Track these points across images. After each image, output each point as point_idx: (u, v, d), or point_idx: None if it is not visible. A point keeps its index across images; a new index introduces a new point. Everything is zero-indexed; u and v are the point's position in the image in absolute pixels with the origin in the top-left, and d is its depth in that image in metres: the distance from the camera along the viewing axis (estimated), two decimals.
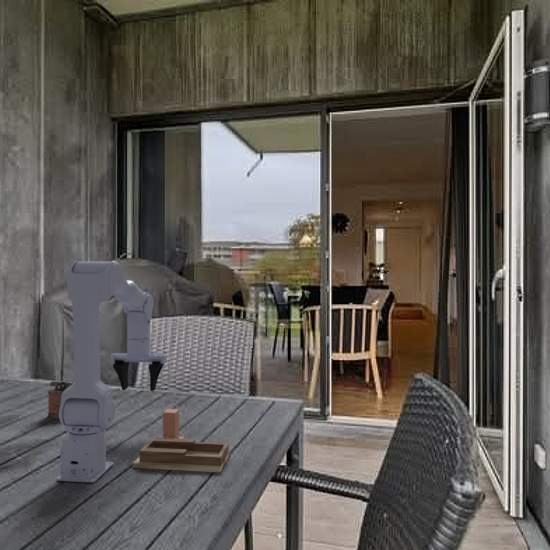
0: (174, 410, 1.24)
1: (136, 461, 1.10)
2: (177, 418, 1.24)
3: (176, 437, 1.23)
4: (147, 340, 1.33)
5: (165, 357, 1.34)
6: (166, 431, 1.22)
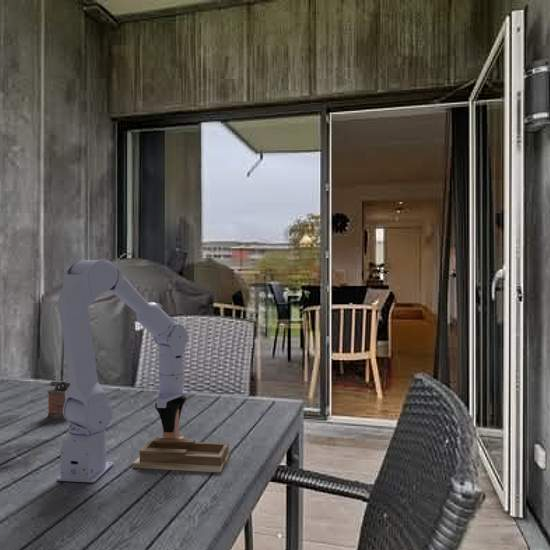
0: None
1: (136, 461, 1.10)
2: (177, 418, 1.24)
3: (176, 437, 1.23)
4: (163, 377, 1.21)
5: (160, 401, 1.16)
6: None
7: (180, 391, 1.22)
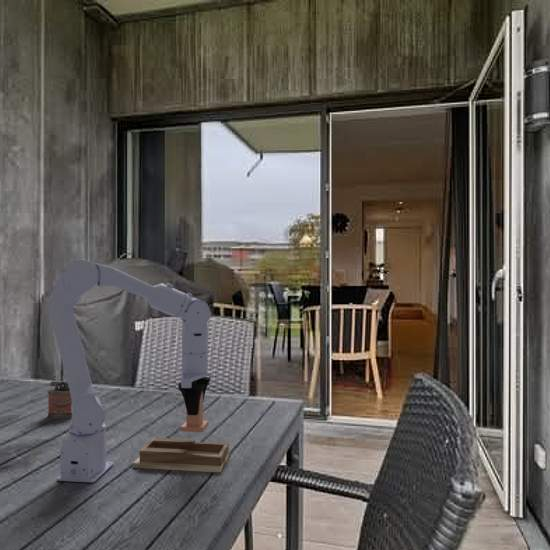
0: None
1: (136, 461, 1.10)
2: (201, 401, 1.16)
3: (200, 421, 1.15)
4: (187, 356, 1.13)
5: (185, 381, 1.08)
6: None
7: (205, 371, 1.14)
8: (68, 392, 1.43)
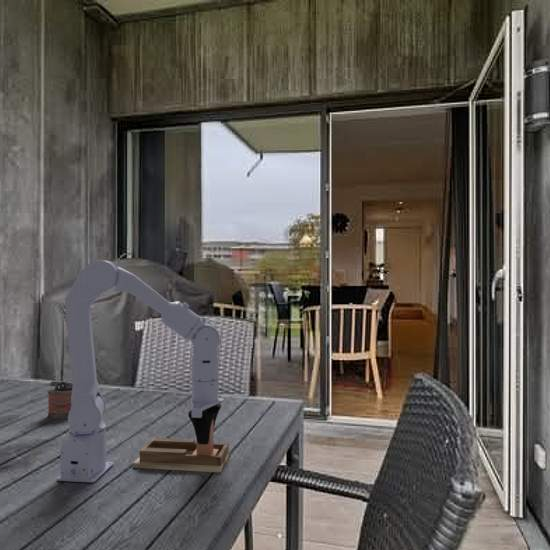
0: None
1: (136, 461, 1.10)
2: (212, 429, 1.12)
3: (211, 450, 1.12)
4: (198, 383, 1.09)
5: (195, 410, 1.05)
6: None
7: (216, 399, 1.11)
8: (68, 392, 1.43)
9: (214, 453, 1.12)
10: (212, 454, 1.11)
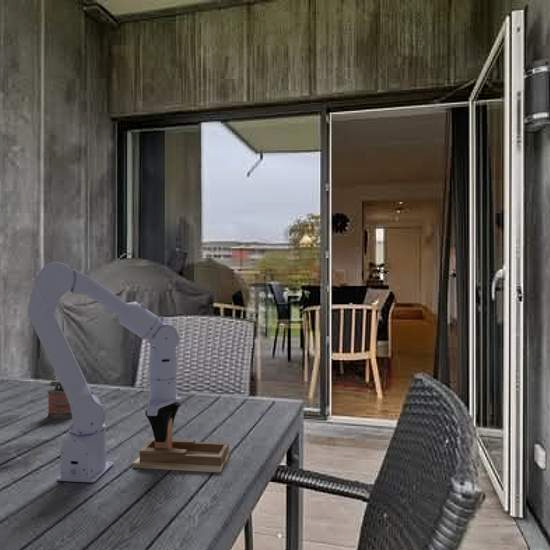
0: None
1: (136, 461, 1.10)
2: (170, 427, 1.14)
3: (169, 448, 1.13)
4: (155, 382, 1.11)
5: (151, 409, 1.06)
6: None
7: (173, 397, 1.12)
8: None
9: None
10: None
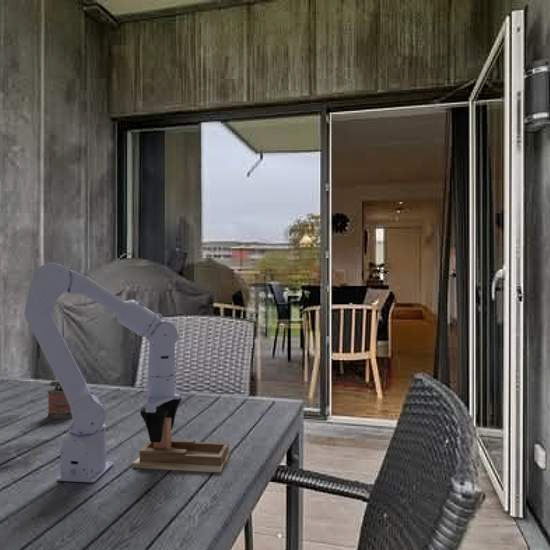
0: (166, 419, 1.14)
1: (136, 461, 1.10)
2: (169, 427, 1.14)
3: (168, 448, 1.13)
4: (153, 379, 1.11)
5: (149, 405, 1.06)
6: None
7: (172, 394, 1.12)
8: None
9: None
10: None
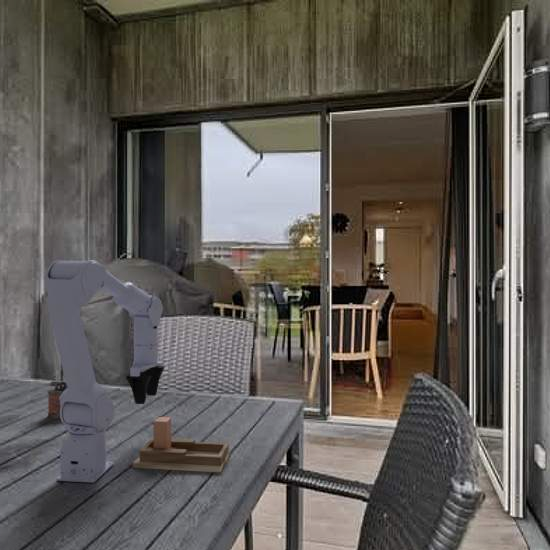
0: (166, 419, 1.14)
1: (136, 461, 1.10)
2: (169, 427, 1.14)
3: (168, 448, 1.13)
4: (138, 347, 1.23)
5: (134, 370, 1.19)
6: (157, 441, 1.12)
7: (154, 361, 1.25)
8: None
9: None
10: None
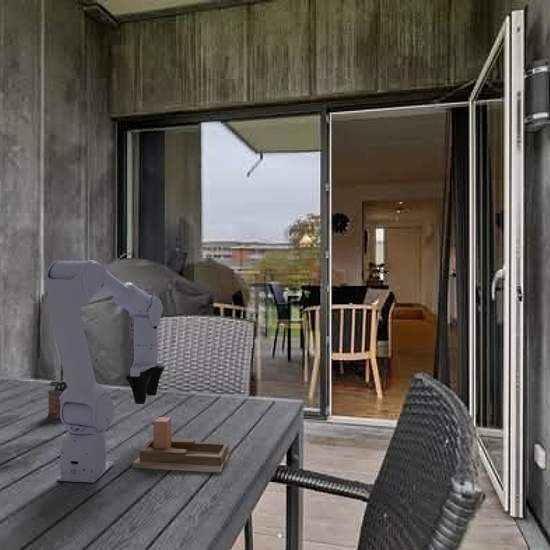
0: (166, 419, 1.14)
1: (136, 461, 1.10)
2: (169, 427, 1.14)
3: (168, 448, 1.13)
4: (138, 347, 1.23)
5: (134, 370, 1.19)
6: (157, 441, 1.12)
7: (154, 361, 1.25)
8: None
9: None
10: None
